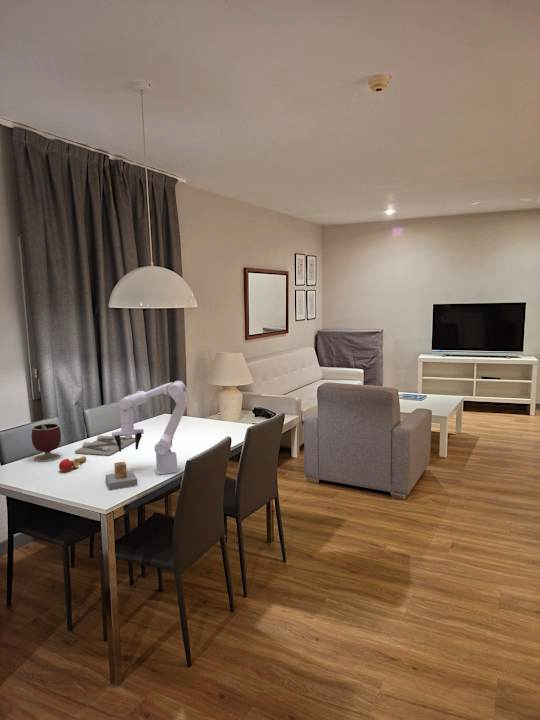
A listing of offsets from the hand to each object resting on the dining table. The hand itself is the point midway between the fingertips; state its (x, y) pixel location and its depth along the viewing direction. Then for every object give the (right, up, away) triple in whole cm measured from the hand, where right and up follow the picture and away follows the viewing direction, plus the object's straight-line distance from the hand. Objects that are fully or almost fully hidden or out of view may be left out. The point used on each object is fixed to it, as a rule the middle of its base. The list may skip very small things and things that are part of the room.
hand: (128, 450), depth 239 cm
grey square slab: (+1, -12, -15) cm, 19 cm away
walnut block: (+1, -9, -15) cm, 18 cm away
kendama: (-29, -10, +8) cm, 32 cm away
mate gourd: (-48, -9, +21) cm, 53 cm away
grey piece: (-24, -6, +41) cm, 48 cm away
